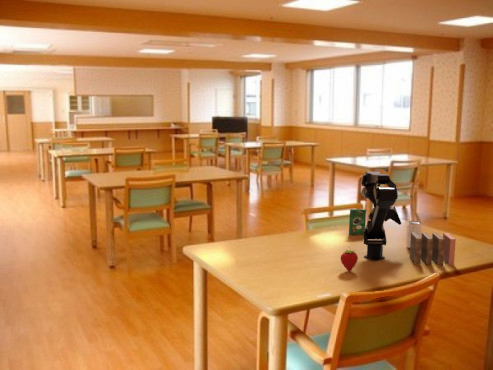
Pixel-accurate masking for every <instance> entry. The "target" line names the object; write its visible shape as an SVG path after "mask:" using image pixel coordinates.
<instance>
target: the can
mask: <svg viewBox="0 0 493 370" xmlns="http://www.w3.org/2000/svg"><path fill="white" fill-rule="evenodd" d="M406 227H407V229H406V248H408V249H409V250H410V243H411V232H416V233H417V234H418V235H419V236H420V237H421V235H422V233H423V224H422V222H421V221H419V220H409V221H408V222H407V226H406Z"/></svg>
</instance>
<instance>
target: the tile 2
mask: <svg viewBox="0 0 493 370" xmlns="http://www.w3.org/2000/svg"><path fill="white" fill-rule="evenodd" d="M421 238H422V245H421V260H422V261H423V262H424V263H425V265H432V262H433V259H432V247H433V238H432V235H430V234H428V232H422V235H421Z"/></svg>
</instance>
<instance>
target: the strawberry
mask: <svg viewBox="0 0 493 370" xmlns="http://www.w3.org/2000/svg"><path fill="white" fill-rule="evenodd" d="M348 248H349V249H350V250H348V249H345V252H343V253H342V254H341V255H340V262H341V264H342V265H343V267H344V268H345V270H347V272H351V271H352V270H353V269H354V268H355V265H356V264H357V262H358V259H359V257H358V254H357V253H356V251H355V250H352V249H351V247H350V246H348Z"/></svg>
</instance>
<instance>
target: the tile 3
mask: <svg viewBox="0 0 493 370" xmlns="http://www.w3.org/2000/svg"><path fill="white" fill-rule="evenodd" d="M431 237H432V238H433V247H432V261H433V262H434V263H436V264H437V265H439V266H442V265H444V264H443V263H444V259H443V253H444V238H443V236H442V235H440V234H439V233H438V232H432V233H431Z"/></svg>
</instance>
